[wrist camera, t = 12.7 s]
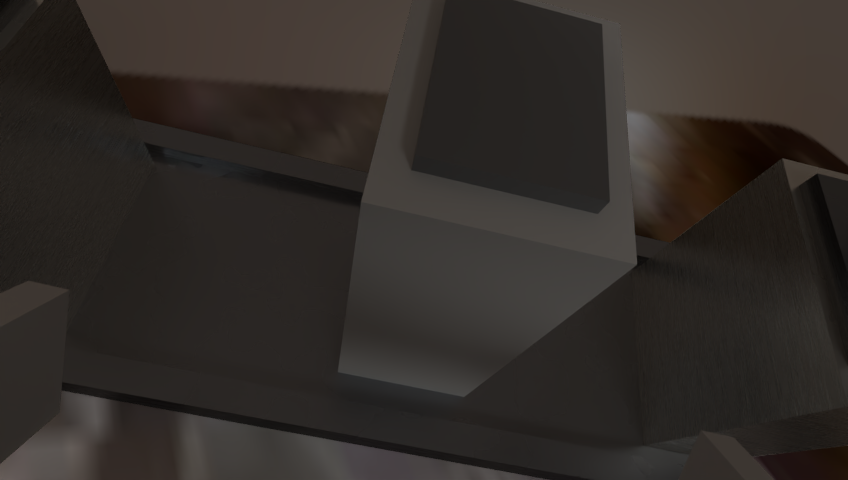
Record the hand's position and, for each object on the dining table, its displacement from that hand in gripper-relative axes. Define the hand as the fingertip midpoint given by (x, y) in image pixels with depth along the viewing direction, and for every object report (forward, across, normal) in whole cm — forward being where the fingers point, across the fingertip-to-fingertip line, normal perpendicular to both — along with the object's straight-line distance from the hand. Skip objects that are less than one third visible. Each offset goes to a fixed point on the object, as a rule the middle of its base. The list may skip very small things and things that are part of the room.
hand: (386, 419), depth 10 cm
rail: (+10, 0, -2) cm, 10 cm away
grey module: (+8, +1, -1) cm, 9 cm away
